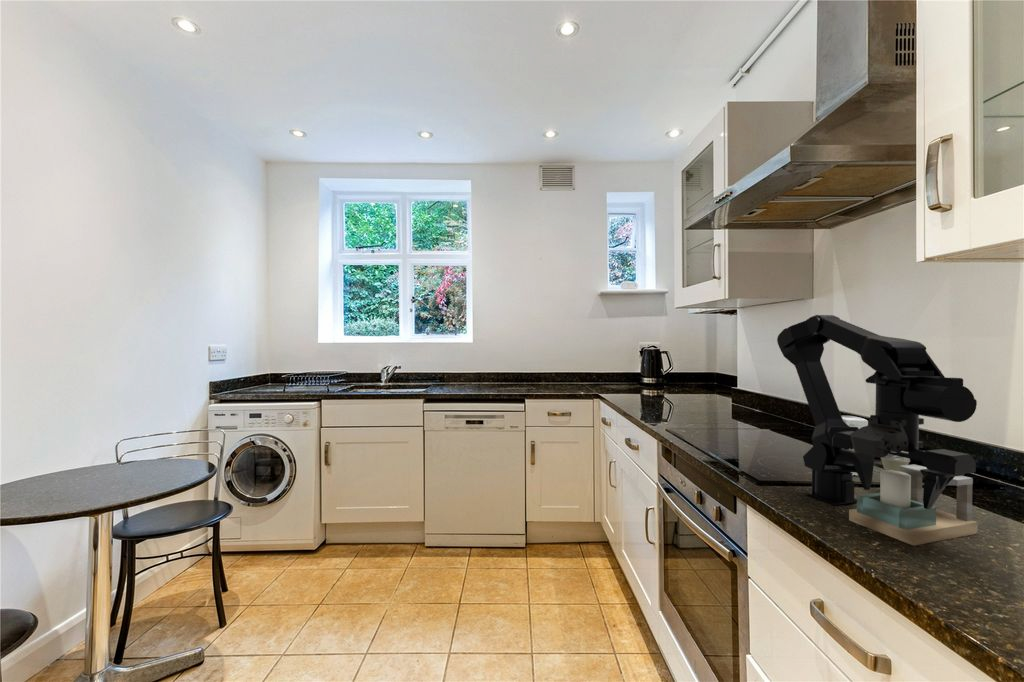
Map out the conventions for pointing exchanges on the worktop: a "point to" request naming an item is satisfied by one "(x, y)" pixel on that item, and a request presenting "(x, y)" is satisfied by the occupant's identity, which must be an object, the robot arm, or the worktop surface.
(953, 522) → the socket board
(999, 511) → the worktop surface
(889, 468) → the ice cream cone
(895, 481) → the peg
